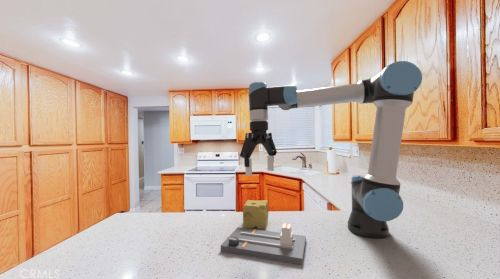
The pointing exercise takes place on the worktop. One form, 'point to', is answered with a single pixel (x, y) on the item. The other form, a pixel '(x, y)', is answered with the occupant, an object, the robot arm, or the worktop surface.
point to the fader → (286, 235)
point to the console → (265, 245)
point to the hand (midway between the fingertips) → (260, 172)
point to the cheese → (255, 214)
